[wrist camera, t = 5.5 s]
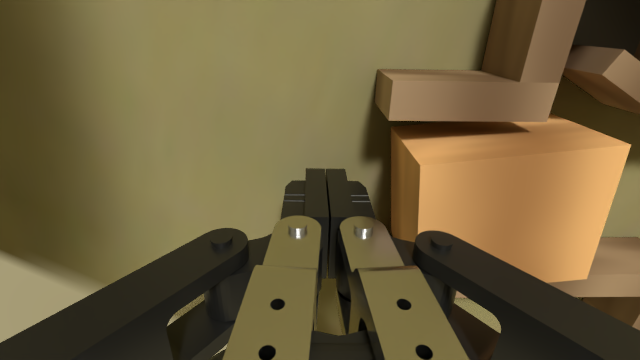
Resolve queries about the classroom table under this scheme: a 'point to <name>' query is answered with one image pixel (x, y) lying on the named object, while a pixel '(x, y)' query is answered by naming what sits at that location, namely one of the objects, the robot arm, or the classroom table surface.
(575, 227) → the block
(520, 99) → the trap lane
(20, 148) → the classroom table surface
